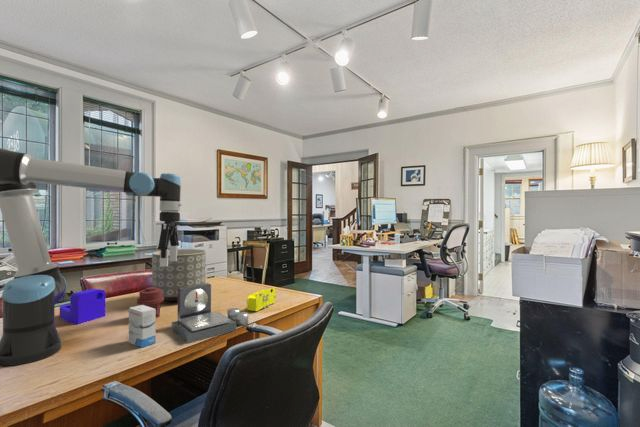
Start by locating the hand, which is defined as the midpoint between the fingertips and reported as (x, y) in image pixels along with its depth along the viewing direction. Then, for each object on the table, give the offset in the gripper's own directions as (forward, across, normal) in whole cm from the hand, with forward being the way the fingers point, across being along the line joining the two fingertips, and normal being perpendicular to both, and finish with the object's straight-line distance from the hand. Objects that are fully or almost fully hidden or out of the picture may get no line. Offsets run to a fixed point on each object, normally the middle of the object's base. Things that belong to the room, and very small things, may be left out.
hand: (168, 263), depth 127 cm
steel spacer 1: (+23, -3, -26) cm, 35 cm away
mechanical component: (+24, +5, +8) cm, 25 cm away
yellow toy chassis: (+23, +12, -38) cm, 46 cm away
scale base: (+23, -13, -16) cm, 31 cm away
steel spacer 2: (+23, -9, -30) cm, 39 cm away
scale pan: (+20, -14, -17) cm, 30 cm away
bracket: (+24, +11, +38) cm, 46 cm away
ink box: (+24, -22, +2) cm, 32 cm away
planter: (+23, +35, +3) cm, 42 cm away
